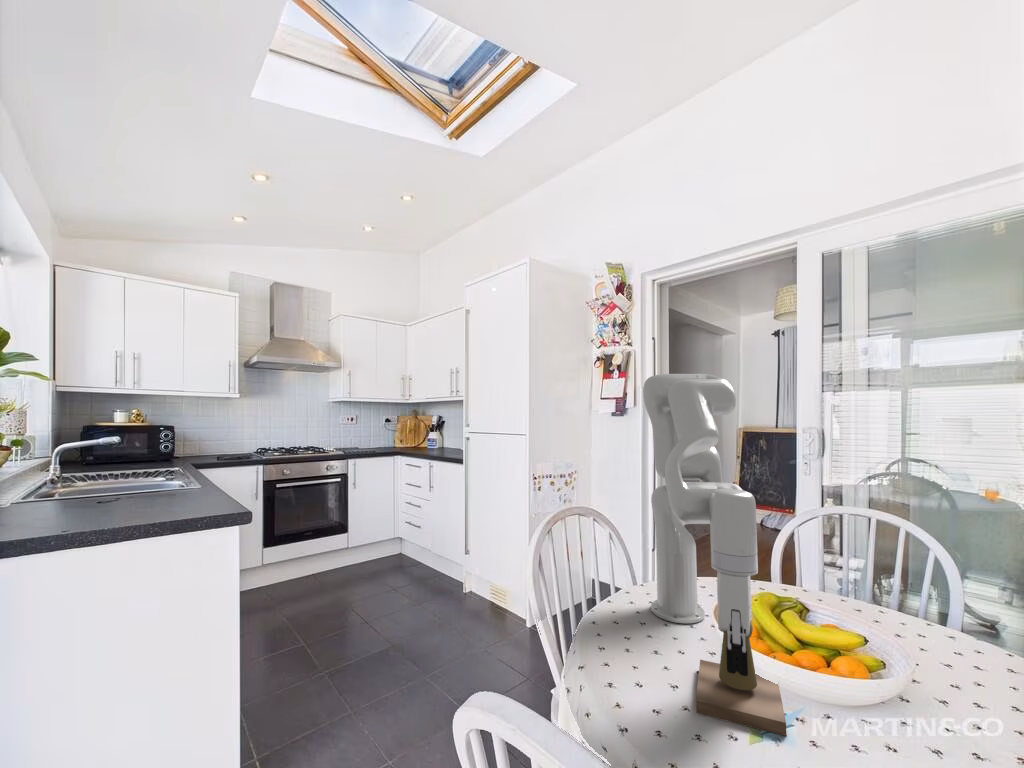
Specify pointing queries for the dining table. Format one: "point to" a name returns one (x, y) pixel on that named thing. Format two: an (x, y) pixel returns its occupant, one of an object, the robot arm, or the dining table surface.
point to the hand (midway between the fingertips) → (737, 665)
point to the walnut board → (740, 701)
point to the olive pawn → (737, 679)
